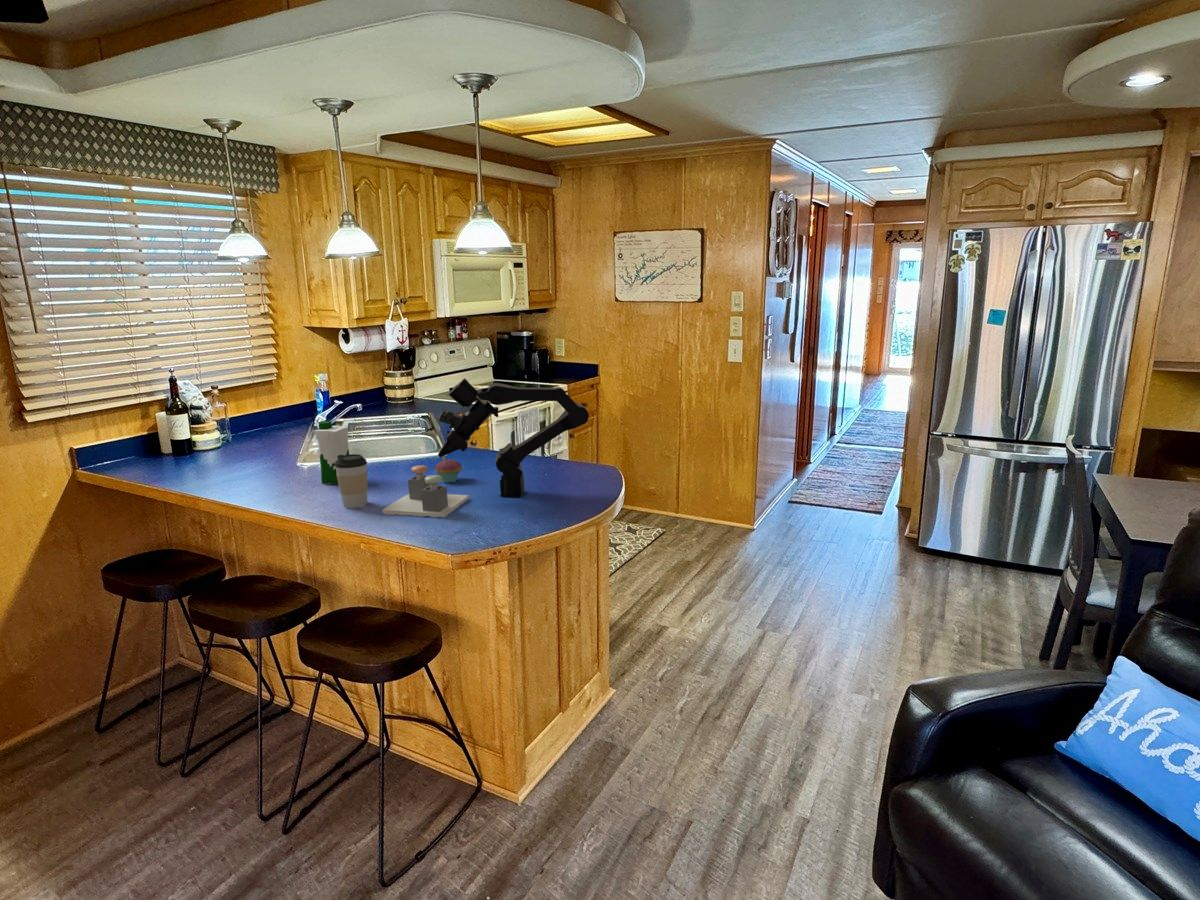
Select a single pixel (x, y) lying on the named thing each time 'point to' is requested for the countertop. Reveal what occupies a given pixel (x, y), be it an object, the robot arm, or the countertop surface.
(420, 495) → the grey button stand
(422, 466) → the terracotta button
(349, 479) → the coffee cup
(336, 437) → the milk carton
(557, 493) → the countertop surface
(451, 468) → the cupcake
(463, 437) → the robot arm
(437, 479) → the sage button
